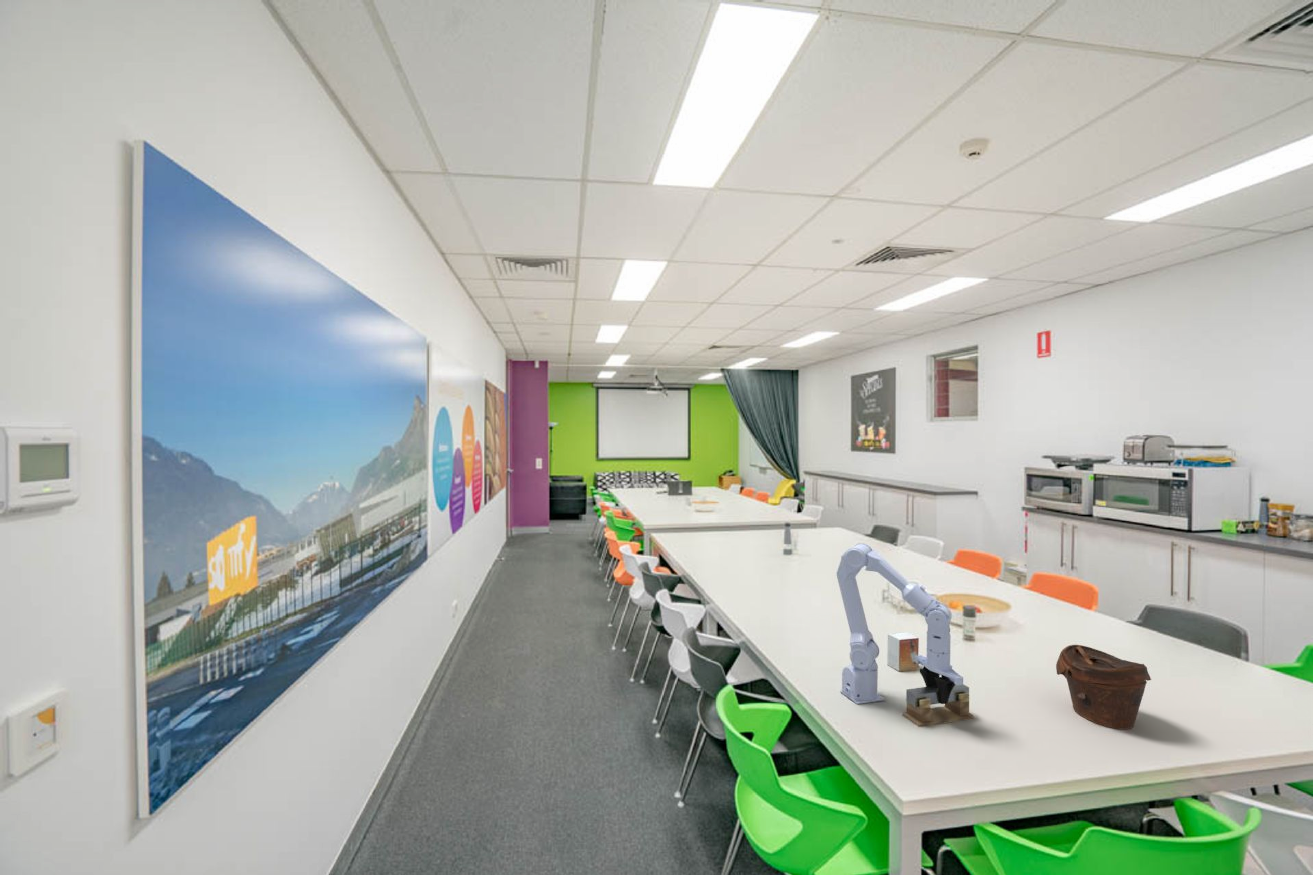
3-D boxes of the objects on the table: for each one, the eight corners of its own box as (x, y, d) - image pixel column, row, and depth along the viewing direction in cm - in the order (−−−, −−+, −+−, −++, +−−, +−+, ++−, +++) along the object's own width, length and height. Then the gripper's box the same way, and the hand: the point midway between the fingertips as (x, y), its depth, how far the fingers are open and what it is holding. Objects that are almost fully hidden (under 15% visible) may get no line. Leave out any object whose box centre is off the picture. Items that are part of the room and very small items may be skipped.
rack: (918, 726, 136) (919, 702, 137) (902, 715, 142) (902, 691, 142) (973, 718, 141) (973, 694, 141) (955, 707, 147) (955, 684, 147)
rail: (915, 707, 138) (915, 694, 138) (906, 701, 141) (906, 689, 141) (969, 698, 143) (969, 687, 143) (959, 693, 146) (959, 682, 146)
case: (1056, 692, 157) (1057, 633, 157) (1147, 715, 144) (1148, 651, 144) (1054, 716, 143) (1055, 652, 143) (1154, 744, 131) (1155, 673, 130)
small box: (898, 671, 170) (899, 639, 170) (886, 664, 175) (887, 633, 175) (918, 669, 172) (919, 637, 172) (906, 662, 177) (906, 631, 177)
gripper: (972, 659, 136) (972, 711, 136) (929, 638, 150) (929, 685, 150) (951, 661, 134) (950, 714, 134) (909, 640, 148) (908, 688, 148)
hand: (937, 699), depth 142 cm, fingers closed on rail, 3 cm apart
